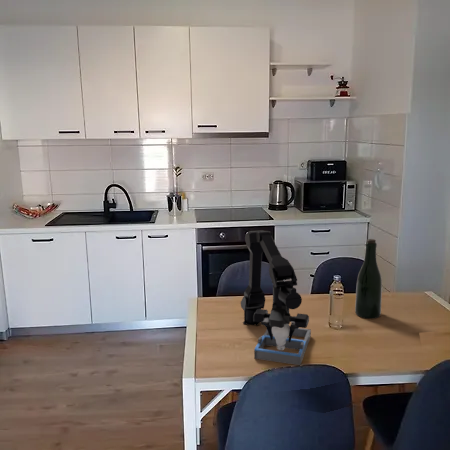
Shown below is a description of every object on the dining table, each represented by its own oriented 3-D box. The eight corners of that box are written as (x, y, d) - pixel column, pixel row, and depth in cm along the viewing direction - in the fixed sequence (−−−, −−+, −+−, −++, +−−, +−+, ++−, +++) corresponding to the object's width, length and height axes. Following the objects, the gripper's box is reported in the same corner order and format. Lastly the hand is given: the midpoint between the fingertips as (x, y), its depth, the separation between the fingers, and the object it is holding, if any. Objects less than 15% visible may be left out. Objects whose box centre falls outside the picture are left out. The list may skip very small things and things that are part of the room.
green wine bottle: (374, 309, 200) (377, 236, 194) (385, 318, 190) (389, 241, 184) (351, 310, 199) (354, 237, 193) (361, 320, 189) (364, 242, 183)
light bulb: (289, 355, 157) (290, 325, 155) (270, 353, 158) (270, 324, 156) (290, 346, 163) (291, 317, 161) (272, 345, 165) (272, 316, 162)
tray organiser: (254, 358, 158) (254, 345, 157) (269, 331, 179) (269, 319, 178) (300, 365, 153) (300, 351, 152) (310, 336, 174) (310, 324, 173)
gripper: (248, 304, 153) (248, 347, 156) (304, 310, 147) (303, 355, 150) (257, 293, 163) (257, 333, 166) (309, 298, 157) (308, 340, 160)
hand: (280, 340), depth 160 cm, fingers closed on light bulb, 6 cm apart
